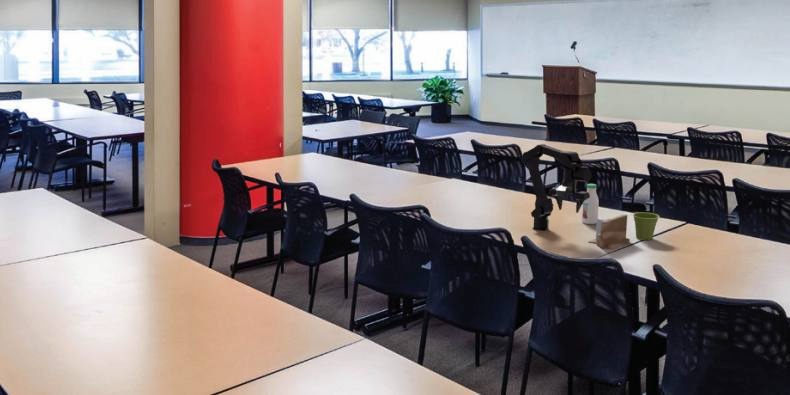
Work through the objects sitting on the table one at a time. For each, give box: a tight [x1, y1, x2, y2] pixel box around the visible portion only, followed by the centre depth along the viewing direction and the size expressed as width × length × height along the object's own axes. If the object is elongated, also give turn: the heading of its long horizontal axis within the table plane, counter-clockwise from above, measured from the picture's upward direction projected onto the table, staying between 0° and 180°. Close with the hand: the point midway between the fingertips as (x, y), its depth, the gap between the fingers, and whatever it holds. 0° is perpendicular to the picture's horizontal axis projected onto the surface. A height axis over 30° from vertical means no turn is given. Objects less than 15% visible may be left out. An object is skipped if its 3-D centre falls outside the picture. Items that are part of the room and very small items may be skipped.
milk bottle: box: [581, 183, 600, 225], centre depth 368 cm, size 8×8×20 cm
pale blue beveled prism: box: [595, 216, 611, 241], centre depth 334 cm, size 5×5×10 cm
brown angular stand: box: [588, 214, 631, 250], centre depth 332 cm, size 14×20×12 cm
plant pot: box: [632, 211, 660, 241], centre depth 339 cm, size 12×12×11 cm
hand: (568, 211), depth 343 cm, fingers open, 9 cm apart
